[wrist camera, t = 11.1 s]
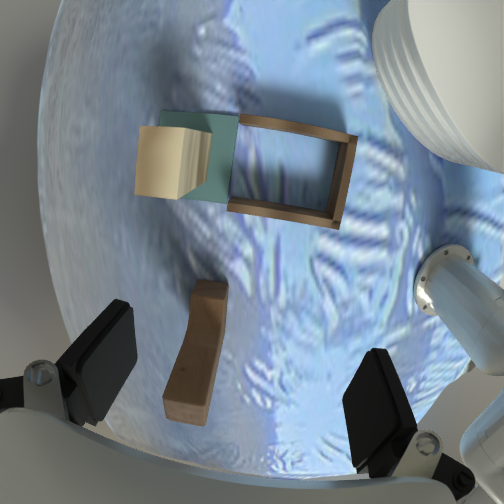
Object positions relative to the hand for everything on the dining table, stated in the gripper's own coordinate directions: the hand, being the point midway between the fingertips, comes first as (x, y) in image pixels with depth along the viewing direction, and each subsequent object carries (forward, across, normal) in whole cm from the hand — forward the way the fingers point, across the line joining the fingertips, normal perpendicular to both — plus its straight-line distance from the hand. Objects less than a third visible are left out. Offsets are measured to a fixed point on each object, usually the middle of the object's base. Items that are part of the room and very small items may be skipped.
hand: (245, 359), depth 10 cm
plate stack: (+28, -23, -27) cm, 45 cm away
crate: (+27, -2, -6) cm, 27 cm away
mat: (+26, +10, -5) cm, 29 cm away
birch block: (+26, +10, -5) cm, 28 cm away
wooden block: (+27, +6, +16) cm, 31 cm away
